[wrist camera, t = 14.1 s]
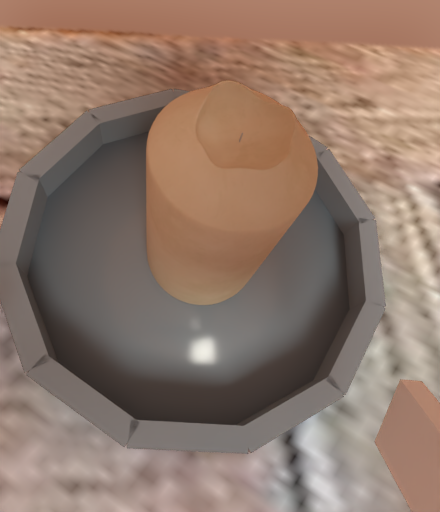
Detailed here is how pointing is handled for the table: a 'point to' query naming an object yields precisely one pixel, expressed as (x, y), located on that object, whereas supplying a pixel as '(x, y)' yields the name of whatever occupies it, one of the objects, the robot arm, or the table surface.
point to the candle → (222, 188)
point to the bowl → (173, 310)
